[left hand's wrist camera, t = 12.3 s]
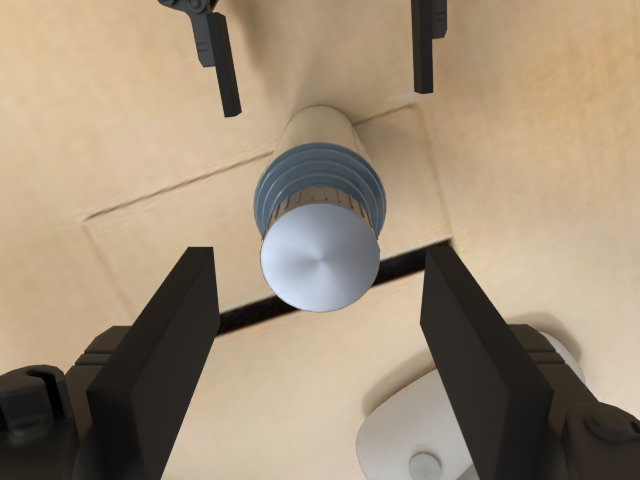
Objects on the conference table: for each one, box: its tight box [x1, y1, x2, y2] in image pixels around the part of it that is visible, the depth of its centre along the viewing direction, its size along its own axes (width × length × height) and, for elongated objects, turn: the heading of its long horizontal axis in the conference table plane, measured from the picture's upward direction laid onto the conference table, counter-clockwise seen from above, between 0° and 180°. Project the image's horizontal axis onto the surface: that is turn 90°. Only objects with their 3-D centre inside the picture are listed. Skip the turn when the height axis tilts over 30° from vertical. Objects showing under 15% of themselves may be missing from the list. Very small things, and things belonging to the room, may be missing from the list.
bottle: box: [254, 106, 386, 237], centre depth 28 cm, size 6×6×25 cm
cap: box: [260, 186, 380, 312], centre depth 17 cm, size 4×4×2 cm
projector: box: [356, 331, 585, 480], centre depth 43 cm, size 22×23×15 cm
